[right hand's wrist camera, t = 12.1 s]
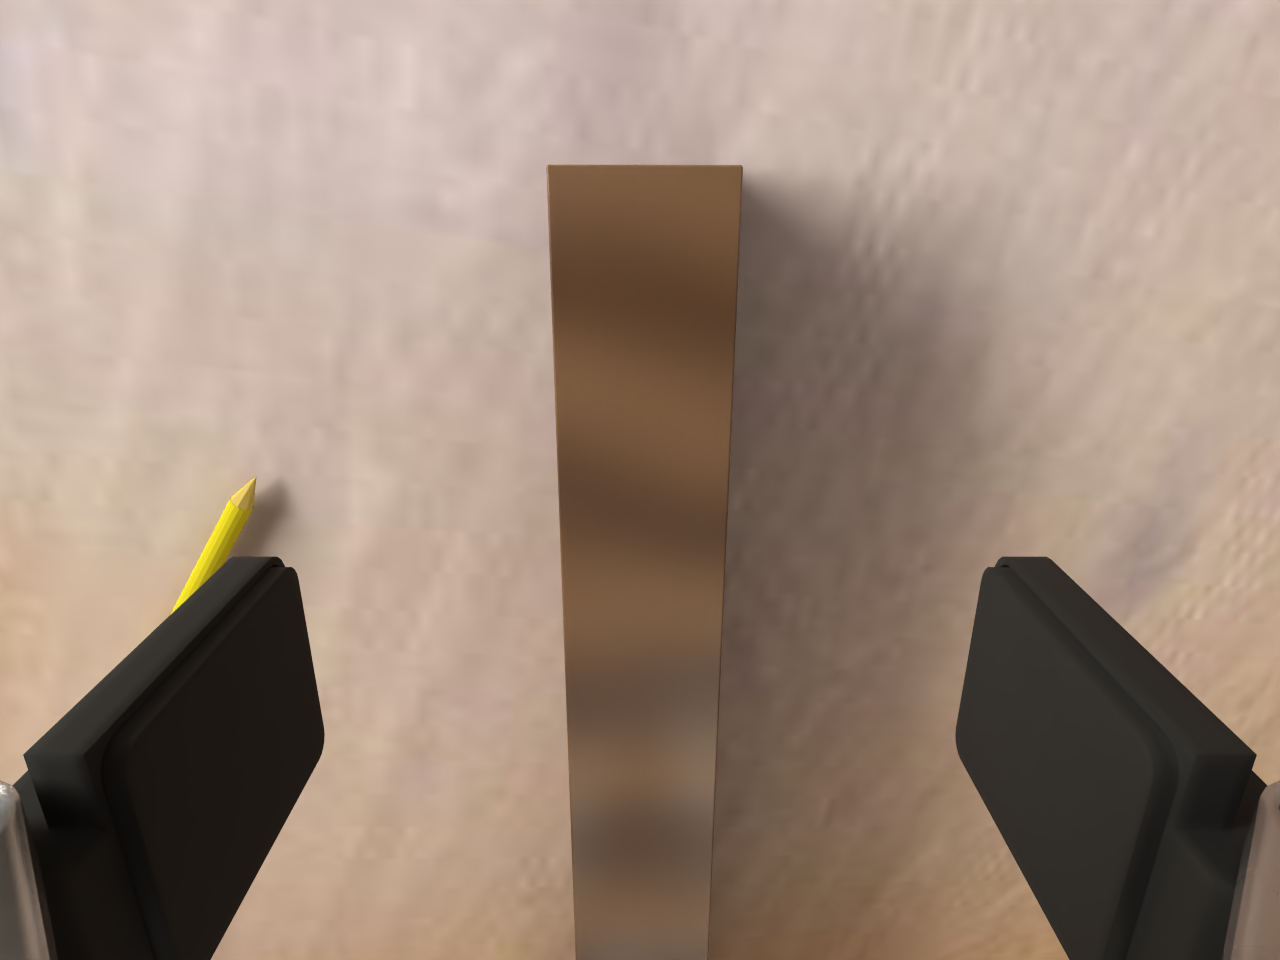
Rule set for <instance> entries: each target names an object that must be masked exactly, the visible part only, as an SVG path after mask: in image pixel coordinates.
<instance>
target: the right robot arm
mask: <svg viewBox="0 0 1280 960" xmlns="http://www.w3.org/2000/svg"><path fill="white" fill-rule="evenodd" d="M323 745H324V726H323V720H322V714H321V708H320V702H319V697H318V691H317V685H316V679H315V673H314V667H313V662H312V656H311V650H310V644H309V638H308V632H307V627H306V621H305V615H304V609H303V603H302V597H301V592H300V586H299V580H298V576H297V573H296V571H295V569H293V568H292V567H285V565H284V564H283V562H282V560H281V559H280V558H278V557H232V558H231V559H229V560H228V561H227V562H226V563H225V564H224V565H223V566H222V567H221V568H219V569H218V570H217V571H216V572H215V573H214V574H213V575H212V576H211V577H210V578H209V579H208V580H207V581H206V582H205V583H204V584H203V585H202V586H200V587H199V588H198V589H197V590H196V591H195V592H194V593H193V594H192V595H191V596H190V597H189V598H188V599H187V600H186V601H185V602H184V603H183V604H182V605H180V606H179V607H178V608H177V609H176V610H175V611H174V612H173V613H172V614H171V615H170V616H169V617H168V618H167V619H166V620H165V621H164V622H163V623H162V624H160V625H159V626H158V627H157V628H156V629H155V630H154V631H153V632H152V633H151V634H150V635H149V636H148V637H147V638H146V639H145V640H144V641H143V642H142V643H140V644H139V645H138V646H137V647H136V648H135V649H134V650H133V651H132V652H131V653H130V654H129V655H128V656H127V657H126V658H125V659H124V660H123V661H122V662H120V663H119V664H118V665H117V666H116V667H115V668H114V669H113V670H112V671H111V672H110V673H109V674H108V675H107V676H106V677H105V678H104V679H103V680H102V681H100V682H99V683H98V684H97V685H96V686H95V687H94V688H93V689H92V690H91V691H90V692H89V693H88V694H87V695H86V696H85V697H84V698H83V699H82V700H80V701H79V702H78V703H77V704H76V705H75V706H74V707H73V708H72V709H71V710H70V711H69V712H68V713H67V714H66V715H65V716H64V717H63V718H61V719H60V720H59V721H58V722H57V723H56V724H55V725H54V726H53V727H52V728H51V729H50V730H49V731H48V732H47V733H46V734H45V735H44V736H43V737H41V738H40V739H39V740H38V741H37V742H36V743H35V744H34V745H33V746H32V747H31V748H30V749H29V750H28V751H27V752H26V753H25V754H24V755H23V756H24V759H25V761H26V764H27V767H28V771H27V772H26V773H25V774H24V775H23V776H22V777H21V778H20V779H19V780H18V781H17V782H16V783H15V784H14V785H13V786H12V785H9V784H7V783H5V782H2V781H0V960H211V958H212V956H213V954H214V952H215V950H216V949H217V947H218V945H219V943H220V941H221V939H222V937H223V936H224V934H225V932H226V930H227V928H228V926H229V925H230V923H231V921H232V919H233V917H234V915H235V914H236V912H237V910H238V908H239V906H240V904H241V903H242V901H243V899H244V897H245V895H246V893H247V891H248V890H249V888H250V886H251V884H252V882H253V880H254V879H255V877H256V875H257V873H258V871H259V869H260V868H261V866H262V864H263V862H264V860H265V858H266V857H267V855H268V853H269V851H270V849H271V847H272V845H273V844H274V842H275V840H276V838H277V836H278V834H279V833H280V831H281V829H282V827H283V825H284V823H285V822H286V820H287V818H288V816H289V814H290V812H291V810H292V809H293V807H294V805H295V803H296V801H297V799H298V798H299V796H300V794H301V792H302V790H303V788H304V787H305V785H306V783H307V781H308V779H309V777H310V776H311V774H312V772H313V770H314V768H315V766H316V764H317V763H318V761H319V759H320V756H321V754H322V750H323ZM956 745H957V750H958V754H959V756H960V759H961V761H962V763H963V764H964V766H965V768H966V770H967V772H968V774H969V776H970V777H971V779H972V781H973V783H974V785H975V787H976V788H977V790H978V792H979V794H980V796H981V798H982V799H983V801H984V803H985V805H986V807H987V809H988V810H989V812H990V814H991V816H992V818H993V820H994V822H995V823H996V825H997V827H998V829H999V831H1000V833H1001V834H1002V836H1003V838H1004V840H1005V842H1006V844H1007V845H1008V847H1009V849H1010V851H1011V853H1012V855H1013V857H1014V858H1015V860H1016V862H1017V864H1018V866H1019V868H1020V869H1021V871H1022V873H1023V875H1024V877H1025V879H1026V880H1027V882H1028V884H1029V886H1030V888H1031V890H1032V891H1033V893H1034V895H1035V897H1036V899H1037V901H1038V903H1039V904H1040V906H1041V908H1042V910H1043V912H1044V914H1045V915H1046V917H1047V919H1048V921H1049V923H1050V925H1051V926H1052V928H1053V930H1054V932H1055V934H1056V936H1057V937H1058V939H1059V941H1060V943H1061V945H1062V947H1063V949H1064V950H1065V952H1066V954H1067V956H1068V958H1069V960H1280V781H1278V782H1275V783H1273V784H1271V785H1268V786H1267V785H1266V784H1265V783H1264V782H1263V781H1262V780H1261V779H1260V778H1259V777H1258V776H1257V775H1256V774H1255V773H1254V772H1253V771H1252V767H1253V764H1254V761H1255V759H1256V756H1257V755H1256V754H1255V753H1254V752H1253V751H1252V750H1251V749H1250V748H1249V747H1248V746H1247V745H1246V744H1245V743H1244V742H1243V741H1242V740H1241V739H1240V738H1239V737H1237V736H1236V735H1235V734H1234V733H1233V732H1232V731H1231V730H1230V729H1229V728H1228V727H1227V726H1226V725H1225V724H1224V723H1223V722H1222V721H1221V720H1220V719H1219V718H1217V717H1216V716H1215V715H1214V714H1213V713H1212V712H1211V711H1210V710H1209V709H1208V708H1207V707H1206V706H1205V705H1204V704H1203V703H1202V702H1201V701H1200V700H1198V699H1197V698H1196V697H1195V696H1194V695H1193V694H1192V693H1191V692H1190V691H1189V690H1188V689H1187V688H1186V687H1185V686H1184V685H1183V684H1182V683H1181V682H1180V681H1178V680H1177V679H1176V678H1175V677H1174V676H1173V675H1172V674H1171V673H1170V672H1169V671H1168V670H1167V669H1166V668H1165V667H1164V666H1163V665H1162V664H1161V663H1160V662H1158V661H1157V660H1156V659H1155V658H1154V657H1153V656H1152V655H1151V654H1150V653H1149V652H1148V651H1147V650H1146V649H1145V648H1144V647H1143V646H1142V645H1141V644H1140V643H1138V642H1137V641H1136V640H1135V639H1134V638H1133V637H1132V636H1131V635H1130V634H1129V633H1128V632H1127V631H1126V630H1125V629H1124V628H1123V627H1122V626H1121V625H1120V624H1118V623H1117V622H1116V621H1115V620H1114V619H1113V618H1112V617H1111V616H1110V615H1109V614H1108V613H1107V612H1106V611H1105V610H1104V609H1103V608H1102V607H1101V606H1100V605H1098V604H1097V603H1096V602H1095V601H1094V600H1093V599H1092V598H1091V597H1090V596H1089V595H1088V594H1087V593H1086V592H1085V591H1084V590H1083V589H1082V588H1081V587H1080V586H1078V585H1077V584H1076V583H1075V582H1074V581H1073V580H1072V579H1071V578H1070V577H1069V576H1068V575H1067V574H1066V573H1065V572H1064V571H1063V570H1062V569H1061V568H1059V567H1058V566H1057V565H1056V564H1055V563H1054V562H1053V561H1052V560H1051V559H1049V558H1048V557H1002V558H1000V559H999V560H998V562H997V564H996V565H995V567H988V568H987V569H985V571H984V573H983V576H982V580H981V586H980V592H979V597H978V603H977V609H976V615H975V621H974V627H973V632H972V638H971V644H970V650H969V656H968V662H967V667H966V673H965V679H964V685H963V691H962V697H961V702H960V708H959V714H958V720H957V726H956Z"/></svg>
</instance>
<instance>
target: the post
mask: <svg viewBox="0 0 1280 960" xmlns="http://www.w3.org/2000/svg"><path fill="white" fill-rule="evenodd" d="M742 176H743V167H742V166H741V165H547V192H548V219H549V246H550V273H551V300H552V327H553V354H554V381H555V408H556V435H557V462H558V489H559V516H560V543H561V571H562V598H563V625H564V652H565V679H566V706H567V733H568V760H569V787H570V814H571V841H572V868H573V895H574V922H575V949H576V960H708V943H709V921H710V898H711V876H712V853H713V831H714V808H715V785H716V763H717V740H718V718H719V695H720V673H721V650H722V627H723V605H724V582H725V560H726V537H727V515H728V492H729V470H730V447H731V424H732V402H733V379H734V357H735V334H736V312H737V289H738V266H739V244H740V221H741V199H742Z"/></svg>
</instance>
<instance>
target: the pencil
mask: <svg viewBox="0 0 1280 960" xmlns="http://www.w3.org/2000/svg"><path fill="white" fill-rule="evenodd" d="M255 484H256V477H255V478H253V479H252V480H251V481H250V482H249V483H247V484H246V485H245V486H244V487H243V488H242V489H240V490H239V491H238V492H237V493H236V494H235V495H233V496H232V497H231V498H230V500H229V502H228V504H227V506H226V508H225V510H224V512H223V514H222V516H221V518H220V519H219V521H218V523H217V525H216V527H215V529H214V531H213V533H212V535H211V537H210V539H209V541H208V543H207V545H206V547H205V549H204V551H203V552H202V554H201V556H200V558H199V560H198V562H197V564H196V566H195V568H194V570H193V572H192V574H191V576H190V578H189V580H188V582H187V584H186V585H185V587H184V589H183V591H182V593H181V595H180V597H179V599H178V601H177V603H176V605H175V607H174V609H173V611H172V613H173V612H174V611H175V610H176V609H177V608H178V607H179V606H180V605H182V604H183V603H184V602H185V601H186V600H187V599H188V598H189V597H190V596H191V595H192V594H193V593H194V592H195V591H196V590H197V589H198V588H199V587H200V586H202V585H203V584H204V583H205V582H206V581H207V580H208V579H209V578H210V577H211V576H212V575H213V574H214V573H215V572H216V571H217V570H218V569H219V568H221V567H222V566H223V565H224V563H225V561H226V559H227V557H228V555H229V553H230V551H231V550H232V548H233V546H234V544H235V542H236V540H237V538H238V536H239V534H240V532H241V531H242V529H243V527H244V525H245V523H246V521H247V519H248V517H249V515H250V514H251V512H252V510H253V508H254V494H255ZM172 613H171V614H172Z"/></svg>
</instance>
